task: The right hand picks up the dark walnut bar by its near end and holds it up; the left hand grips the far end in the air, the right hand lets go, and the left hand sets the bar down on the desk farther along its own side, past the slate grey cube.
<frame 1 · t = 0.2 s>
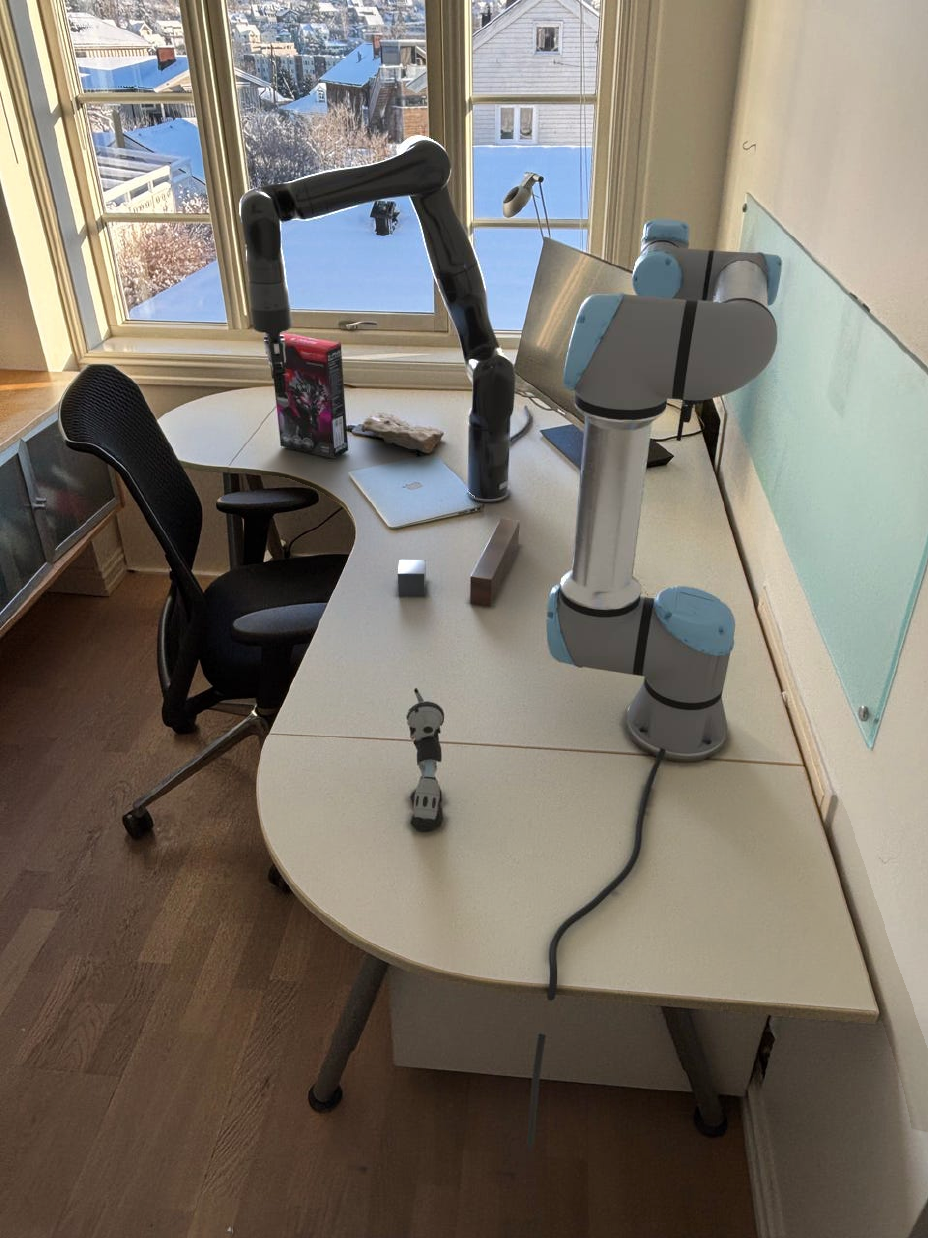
left hand: (279, 385, 187), 29 cm above the table, fingers open, 8 cm apart
right hand: (641, 434, 170), 28 cm above the table, fingers open, 13 cm apart
walnut bar: (495, 573, 182), on the table
robot: (427, 811, 129), on the table
slate cube: (412, 589, 177), on the table
graphics card box: (314, 449, 231), on the table
stone: (399, 442, 235), on the table
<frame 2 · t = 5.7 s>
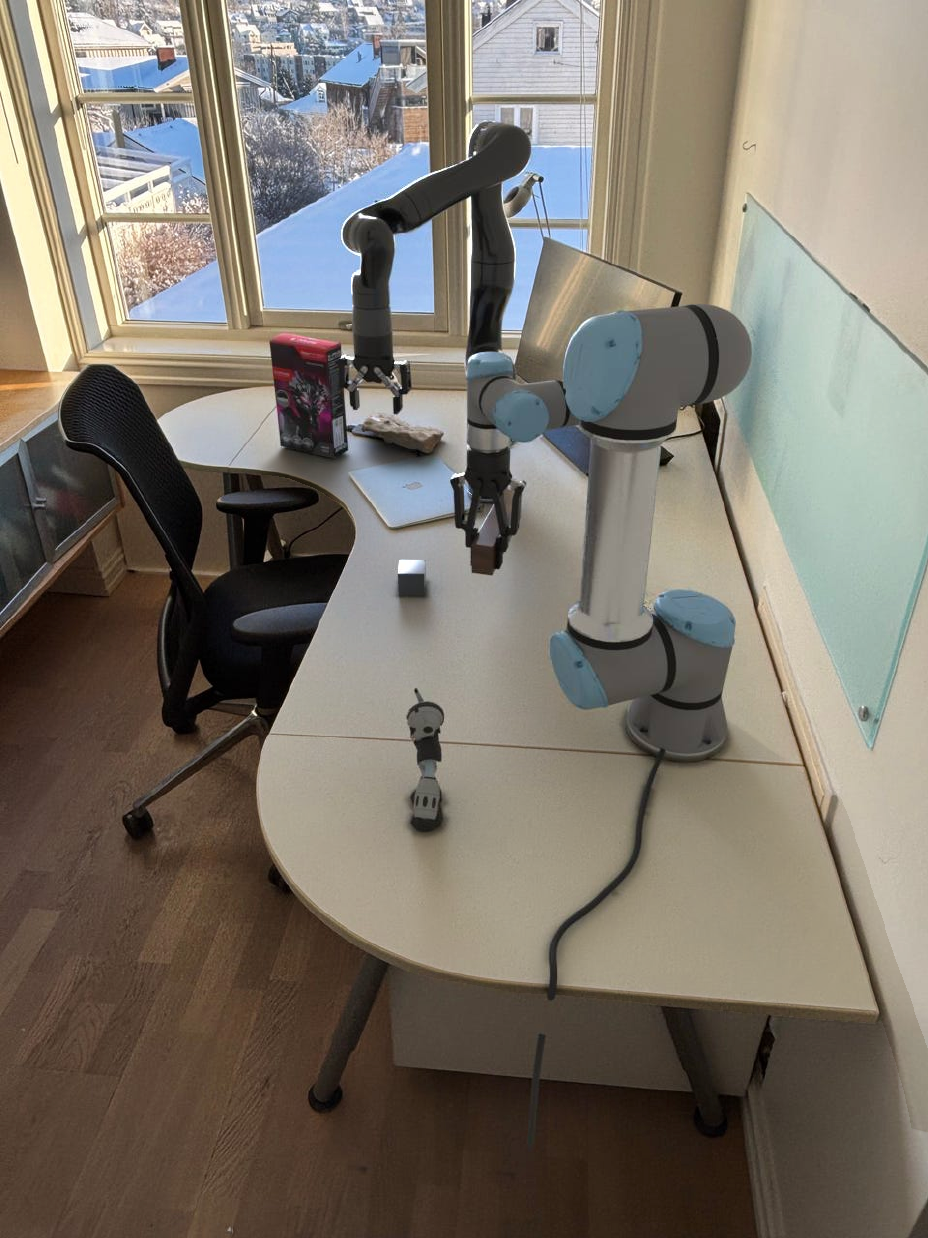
left hand: (376, 410, 183), 26 cm above the table, fingers open, 8 cm apart
right hand: (486, 563, 171), 7 cm above the table, fingers closed on walnut bar, 4 cm apart
walnut bar: (497, 544, 178), point 7 cm above the table, touching right hand
everything else where it was.
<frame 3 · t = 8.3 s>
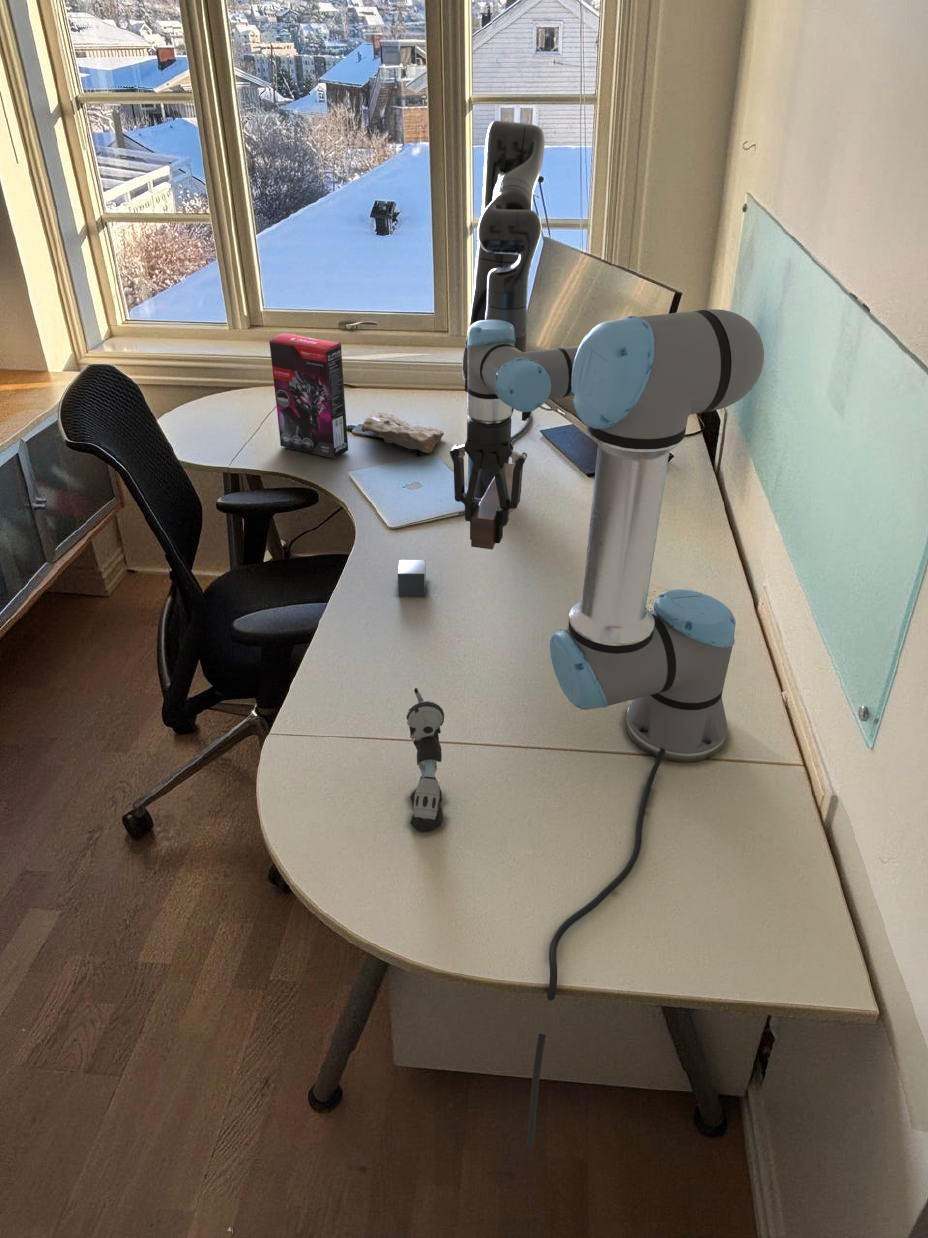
left hand: (502, 416, 173), 29 cm above the table, fingers open, 8 cm apart
right hand: (486, 537, 168), 13 cm above the table, fingers closed on walnut bar, 4 cm apart
walnut bar: (497, 518, 175), point 12 cm above the table, touching right hand
everything else where it was.
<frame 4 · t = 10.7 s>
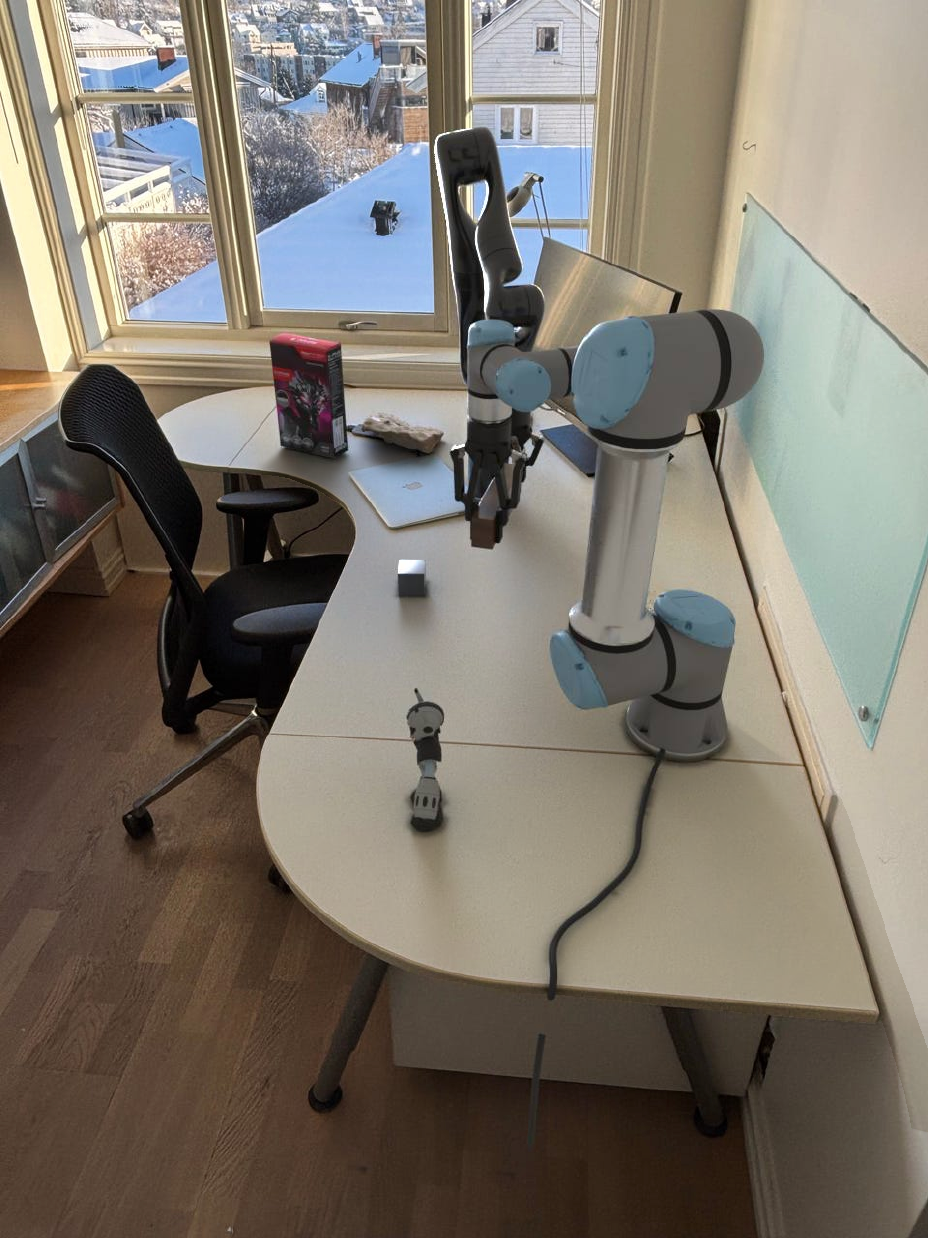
left hand: (508, 481, 180), 16 cm above the table, fingers closed on walnut bar, 4 cm apart
right hand: (486, 537, 168), 13 cm above the table, fingers closed on walnut bar, 4 cm apart
walnut bar: (497, 518, 175), point 12 cm above the table, touching right hand, left hand
everything else where it was.
when the right hand's fingers open (13 cm above the table, at t = 11.4 s): walnut bar stays where it is, held by the left hand.
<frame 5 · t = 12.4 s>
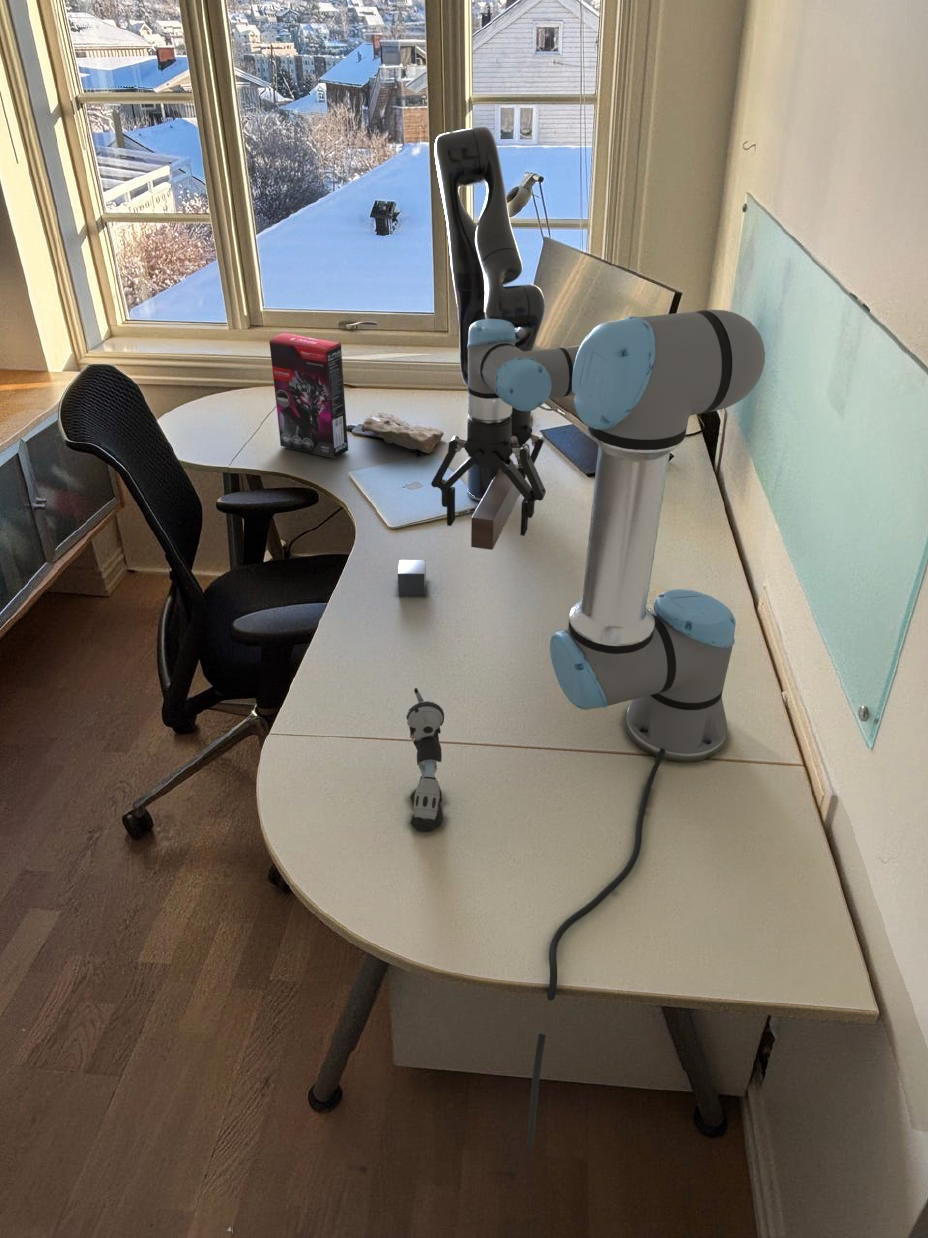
left hand: (507, 481, 180), 16 cm above the table, fingers closed on walnut bar, 4 cm apart
right hand: (487, 527, 167), 15 cm above the table, fingers open, 13 cm apart
walnut bar: (497, 518, 175), point 12 cm above the table, touching left hand
everything else where it was.
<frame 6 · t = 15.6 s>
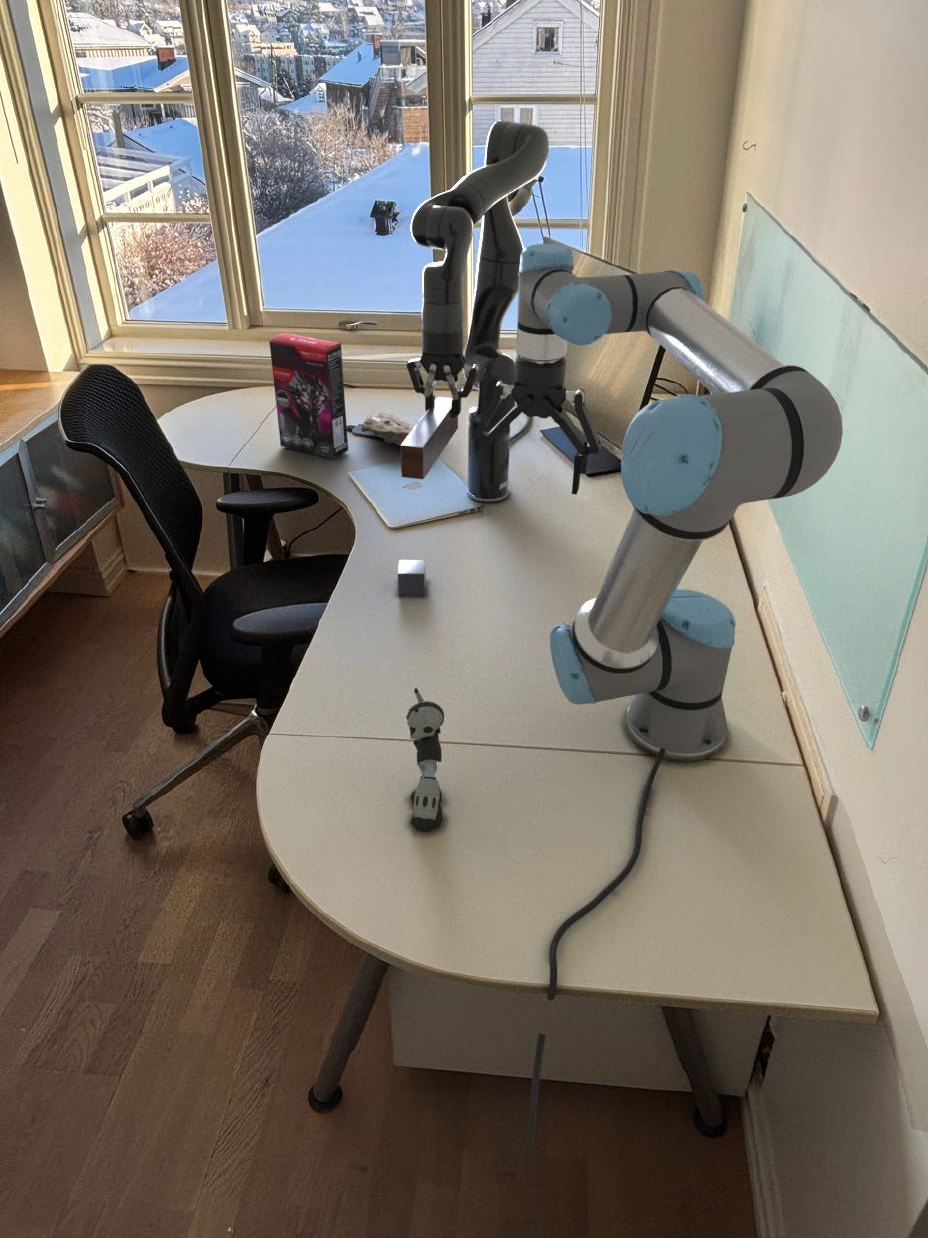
left hand: (443, 415, 176), 28 cm above the table, fingers closed on walnut bar, 4 cm apart
right hand: (533, 485, 149), 29 cm above the table, fingers open, 13 cm apart
walnut bar: (431, 451, 171), point 24 cm above the table, touching left hand
everything else where it was.
when the left hand's fingers open (4 cm above the table, at t = 20.8 s): walnut bar stays where it is, on the table.
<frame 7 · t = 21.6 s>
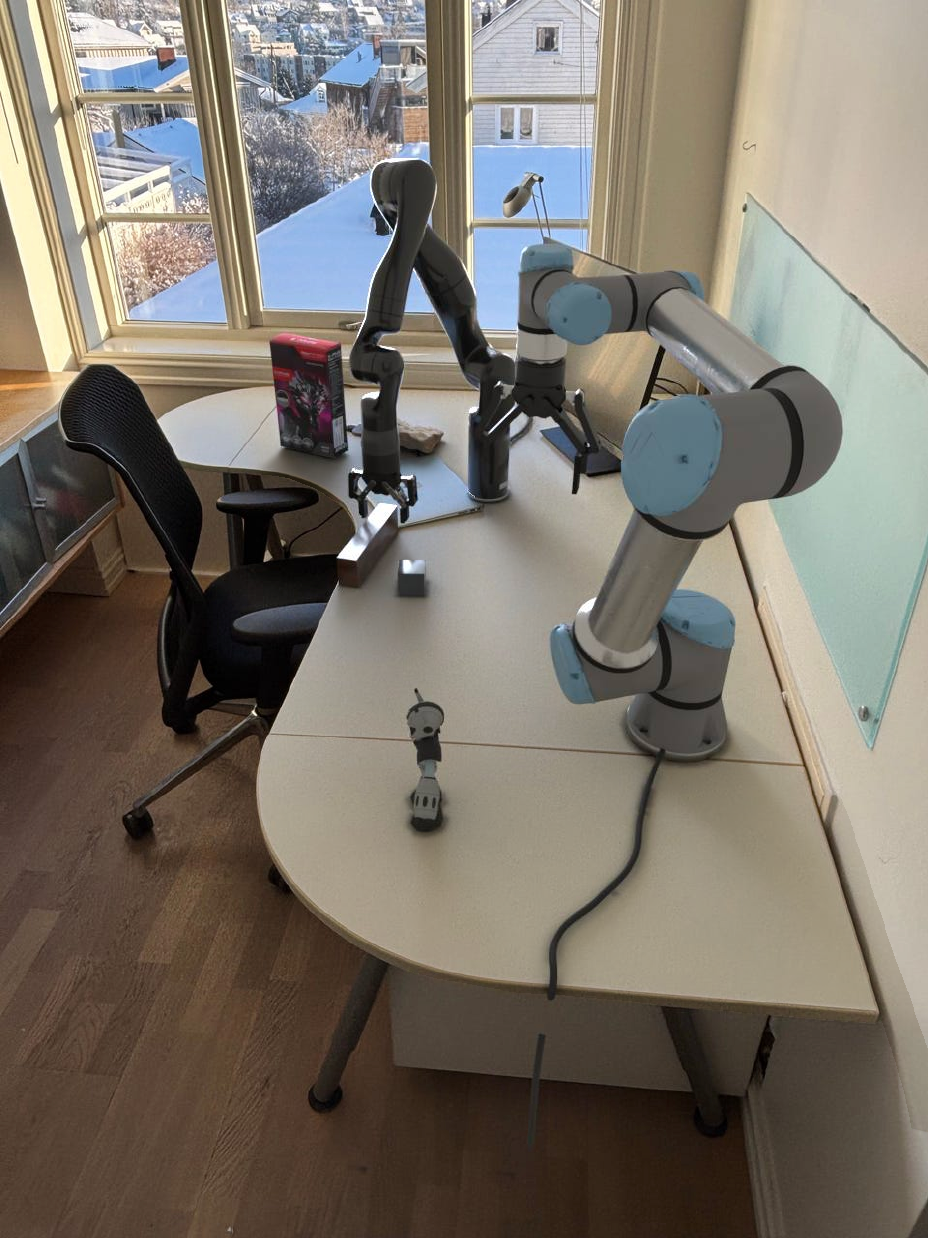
left hand: (384, 519, 192), 4 cm above the table, fingers open, 8 cm apart
right hand: (533, 485, 149), 29 cm above the table, fingers open, 13 cm apart
walnut bar: (369, 556, 187), on the table
everything else where it was.
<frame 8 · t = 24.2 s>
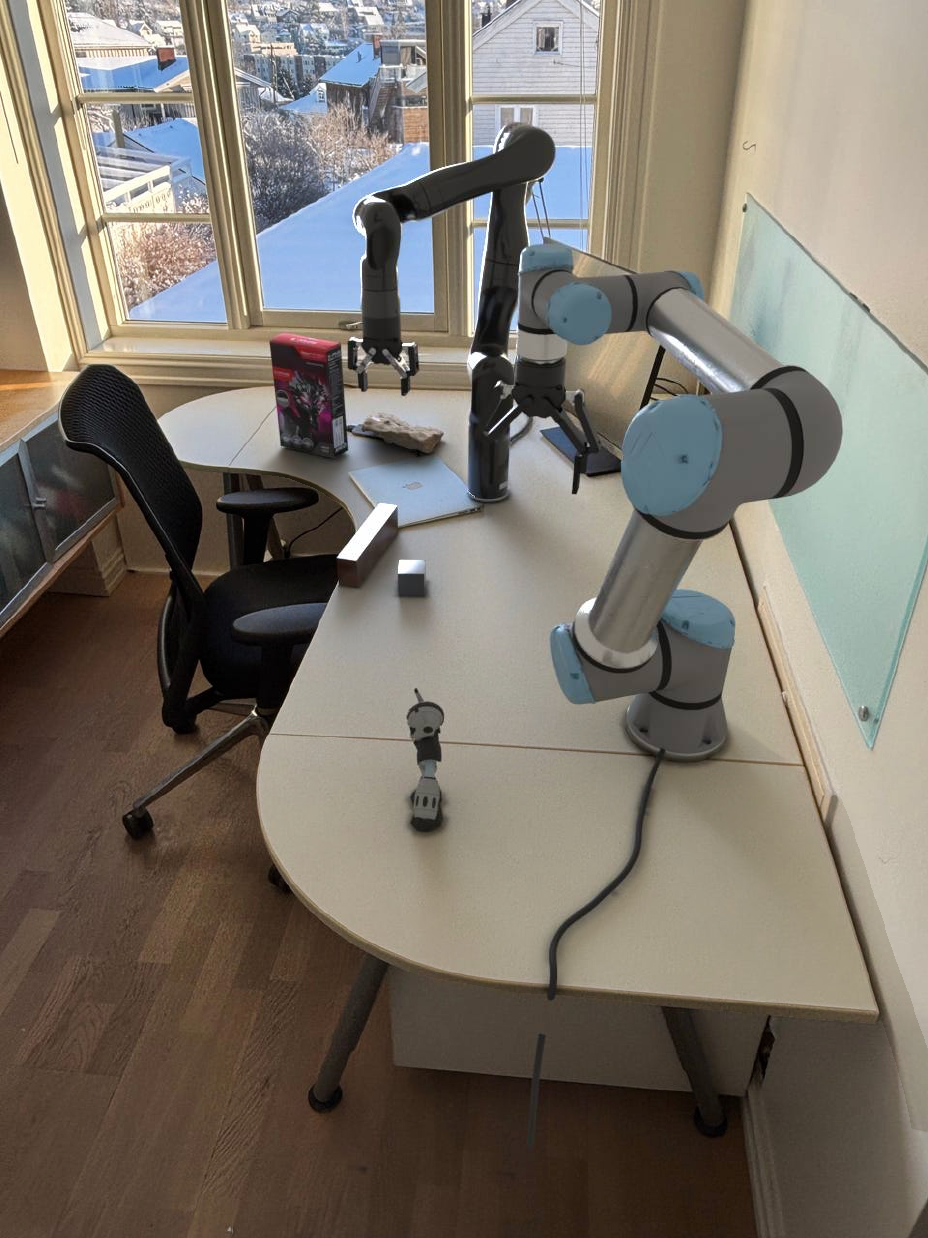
left hand: (384, 392, 186), 28 cm above the table, fingers open, 8 cm apart
right hand: (533, 485, 149), 29 cm above the table, fingers open, 13 cm apart
nothing on the table moved.
at the end: walnut bar inside the target area (0.1 cm from its centre), on the table; both hands held the walnut bar at the same time; the left hand is holding nothing; the right hand is holding nothing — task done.
